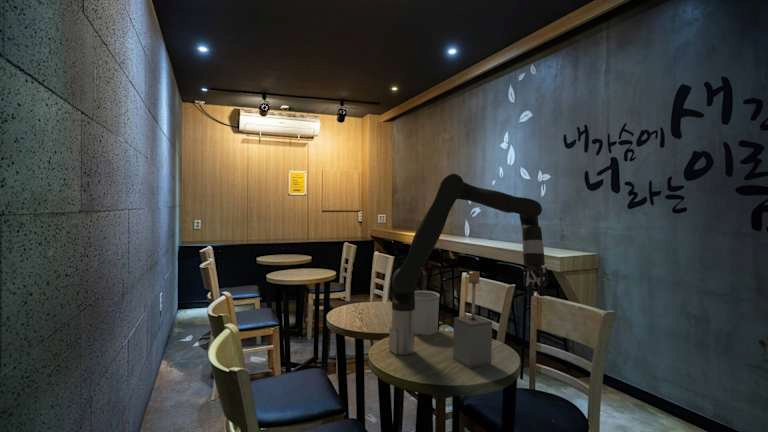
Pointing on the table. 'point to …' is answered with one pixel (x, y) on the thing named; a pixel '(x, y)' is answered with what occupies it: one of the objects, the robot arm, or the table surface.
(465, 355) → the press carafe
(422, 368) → the table surface
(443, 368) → the table surface
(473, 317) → the plunger
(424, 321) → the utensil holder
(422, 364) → the table surface
